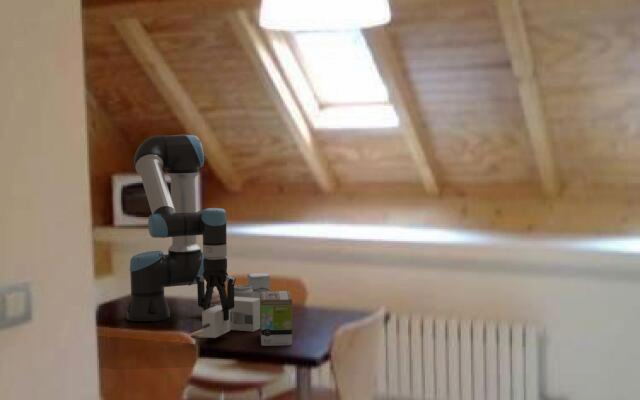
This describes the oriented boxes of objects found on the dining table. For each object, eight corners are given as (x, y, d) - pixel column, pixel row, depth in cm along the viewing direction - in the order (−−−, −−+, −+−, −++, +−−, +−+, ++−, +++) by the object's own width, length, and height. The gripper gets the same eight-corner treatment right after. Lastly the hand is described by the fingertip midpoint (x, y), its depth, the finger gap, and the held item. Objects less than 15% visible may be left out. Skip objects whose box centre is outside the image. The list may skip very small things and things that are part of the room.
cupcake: (214, 319, 321) (213, 291, 320) (193, 317, 326) (192, 289, 325) (229, 314, 329) (228, 287, 328) (208, 312, 334) (207, 285, 333)
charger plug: (197, 339, 285) (196, 314, 284) (222, 327, 299) (221, 303, 298) (209, 340, 283) (209, 315, 282) (234, 328, 298) (233, 304, 297)
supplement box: (251, 310, 336) (250, 276, 334) (247, 306, 343) (247, 273, 342) (270, 309, 337) (270, 275, 336) (267, 305, 344) (266, 272, 343)
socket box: (224, 329, 306) (223, 299, 306) (232, 325, 312) (232, 296, 311) (253, 331, 302) (252, 301, 301) (261, 327, 308) (261, 298, 307)
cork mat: (187, 336, 297) (187, 334, 297) (206, 328, 308) (206, 326, 308) (206, 338, 294) (206, 336, 294) (224, 330, 305) (224, 328, 305)
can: (245, 323, 315) (244, 288, 314) (228, 320, 319) (227, 287, 318) (258, 318, 321) (257, 285, 320) (241, 316, 325) (240, 283, 324)
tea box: (293, 345, 283) (292, 298, 282) (261, 346, 282) (259, 299, 281) (291, 334, 298) (290, 289, 297) (260, 335, 297) (259, 290, 296)
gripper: (184, 257, 289) (186, 329, 291) (233, 261, 282) (235, 335, 285) (197, 253, 296) (198, 324, 298) (245, 257, 289) (246, 329, 291)
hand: (216, 329), depth 291 cm, fingers closed on charger plug, 4 cm apart
